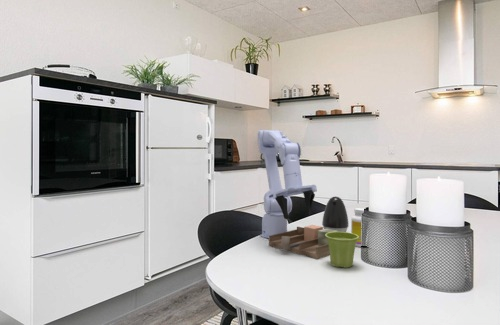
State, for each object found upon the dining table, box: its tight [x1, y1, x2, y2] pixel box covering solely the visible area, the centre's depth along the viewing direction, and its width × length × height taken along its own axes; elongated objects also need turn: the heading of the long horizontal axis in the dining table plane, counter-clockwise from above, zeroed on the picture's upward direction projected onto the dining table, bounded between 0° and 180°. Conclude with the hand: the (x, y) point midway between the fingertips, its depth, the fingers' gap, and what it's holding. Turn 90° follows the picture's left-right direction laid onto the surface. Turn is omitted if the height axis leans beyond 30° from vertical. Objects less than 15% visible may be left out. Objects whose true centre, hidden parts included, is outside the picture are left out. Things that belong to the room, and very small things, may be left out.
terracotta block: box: [281, 224, 324, 251], centre depth 118 cm, size 4×19×5 cm, turn 134°
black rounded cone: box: [321, 196, 349, 232], centre depth 139 cm, size 10×10×15 cm
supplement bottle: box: [350, 207, 365, 248], centre depth 123 cm, size 7×7×13 cm
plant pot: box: [325, 231, 359, 269], centre depth 102 cm, size 9×9×9 cm
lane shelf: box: [268, 226, 338, 260], centre depth 120 cm, size 20×16×6 cm
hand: (297, 216), depth 112 cm, fingers open, 7 cm apart
